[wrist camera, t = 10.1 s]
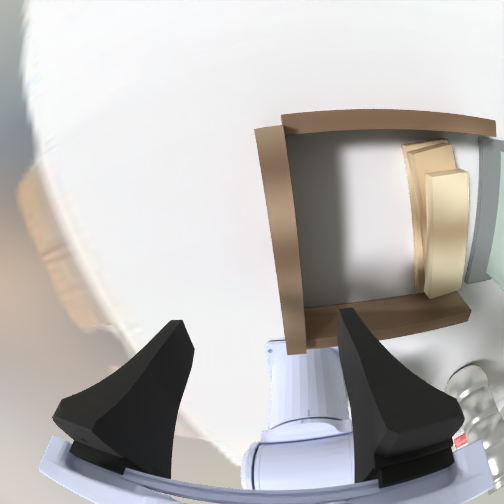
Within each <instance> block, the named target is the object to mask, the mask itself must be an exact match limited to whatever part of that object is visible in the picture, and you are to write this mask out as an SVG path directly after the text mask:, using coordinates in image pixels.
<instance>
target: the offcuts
mask: <svg viewBox="0 0 504 504" xmlns="http://www.w3.org/2000/svg"><path fill="white" fill-rule="evenodd" d="M401 146H402V151H403V156H404V161H405V167H406V173H407V180H408V187H409V194H410V203H411V212H412V223H413V237H414V259H415V290H416V291H417V293H421V292H425V293H426V295H427V296H428V298H429V299H432V298H435V297H438V296H442V295H445V294H448V293H451V292H455V291H458V290H461V286H462V279H463V273H464V265H465V257H466V247H467V234H468V214H469V182H468V172H467V171H464V170H462V169H456V165H455V159H454V154H453V149H452V144H448V139H444V138H441V139H434V140H427V141H421V142H415V143H409V144H404V145H401Z"/></svg>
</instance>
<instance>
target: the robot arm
mask: <svg viewBox="0 0 504 504" xmlns="http://www.w3.org/2000/svg"><path fill="white" fill-rule="evenodd" d="M337 343H338V346H337V347H329V348H320V349H310V350H307V354H298V355H287V350H286V341H273V342H267V343H266V344H265V352H266V357H267V362H268V367H269V372H270V377H271V382H272V385H271V400H270V413H269V426H268V430H267V431H262V433H261V441H259V442H254V443H252V445H251V446H250V447H249V448H248V450H247V451H246V452H245V454H244V457H243V460H242V466H241V484H242V489H233V488H221V487H213V486H206V485H199V484H192V483H186V482H181V481H176V480H171V458H172V447H173V438H174V431H175V425H176V419H177V414H178V409H179V405H180V402H181V399H182V396H183V393H184V390H185V387H186V384H187V380H188V377H189V374H190V371H191V368H192V362H193V357H194V350H195V349H194V347H193V344H192V342H191V340H190V337H189V335H188V333H187V330H186V328H185V325H184V323H183V320H171V321H170V322H169V323H168V324H167V325H165V326H164V327H163V328H162V329H161V330H160V332H159V333H158V334H157V335H156V336H155V337H154V338H153V339H152V340H151V341H150V342H149V343H148V344H147V345H146V346H145V347H144V348H143V349H141V350H140V351H139V352H138V353H137V354H136V355H135V356H134V357H133V358H132V359H130V360H129V361H128V362H127V363H126V364H125V365H123V366H122V367H121V368H119V369H118V370H117V371H115V372H114V373H113V374H111V375H110V376H108V377H107V378H105V379H103V380H102V381H100V382H99V383H97V384H95V385H94V386H92V387H90V388H88V389H86V390H84V391H82V392H79V393H77V394H75V395H72V396H69V397H67V398H64V399H62V400H61V402H60V404H59V406H58V408H57V410H56V411H55V413H54V415H53V417H52V418H53V421H54V422H55V423H56V425H57V426H58V427H60V428H61V429H62V430H63V431H64V432H65V433H66V434H68V435H69V436H70V437H71V438H72V439H73V440H74V442H73V444H71V443H70V442H68V441H66V440H64V439H62V438H60V437H57V436H55V435H53V437H52V439H51V441H50V443H49V445H48V447H47V449H46V451H45V453H44V455H43V457H42V460H41V462H40V464H39V466H38V471H40V472H42V473H43V474H44V475H46V476H47V477H49V478H51V479H52V480H54V481H56V482H57V483H59V484H61V485H62V486H64V487H66V488H67V489H69V490H71V491H72V492H74V493H76V494H78V495H80V496H82V497H84V498H86V499H88V500H90V501H92V502H94V503H96V504H185V503H181V502H179V501H177V500H175V499H173V498H171V497H170V496H168V495H165V494H170V495H174V496H178V497H183V498H188V499H194V500H199V501H206V502H213V503H221V504H463V503H465V502H467V501H469V500H471V499H473V498H475V497H477V496H479V495H481V494H482V493H484V492H486V491H488V490H490V489H491V488H493V487H494V482H493V478H492V474H491V470H490V466H489V462H488V458H487V455H486V451H485V448H484V445H483V442H482V439H479V440H477V441H475V442H473V443H471V444H468V445H466V446H464V447H462V448H460V449H458V450H456V451H454V452H453V453H452V449H451V447H452V446H453V440H452V436H453V435H454V434H455V433H456V432H457V431H458V430H459V429H460V427H461V426H462V425H463V423H464V420H465V417H464V414H463V411H462V409H461V406H460V405H459V403H458V401H457V399H456V398H454V397H452V396H450V395H448V394H446V393H444V392H442V391H440V390H438V389H436V388H435V387H433V386H431V385H430V384H428V383H426V382H425V381H424V380H422V379H421V378H419V377H418V376H416V375H415V374H414V373H412V372H411V371H410V370H408V369H407V368H406V367H405V366H404V365H402V364H401V363H400V362H399V361H398V360H397V359H396V358H395V357H394V356H393V355H392V354H391V353H390V352H389V351H388V350H387V349H386V348H385V347H384V346H383V345H382V344H381V343H380V342H379V341H378V340H377V338H376V337H375V336H374V335H373V334H372V332H371V331H370V330H369V329H368V327H367V326H366V325H365V324H364V322H363V321H362V320H361V318H360V317H359V315H358V314H357V313H356V311H355V310H354V308H352V307H350V308H342V309H339V312H338V337H337ZM269 349H272V350H269ZM343 375H344V378H343ZM344 380H345V384H346V388H347V392H348V396H349V401H350V407H351V416H352V422H351V419H350V418H349V411H348V404H347V397H346V391H345V384H344ZM352 426H353V429H352ZM152 490H153V491H152ZM155 491H157V492H155ZM158 492H161V493H165V494H161V493H158Z"/></svg>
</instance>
